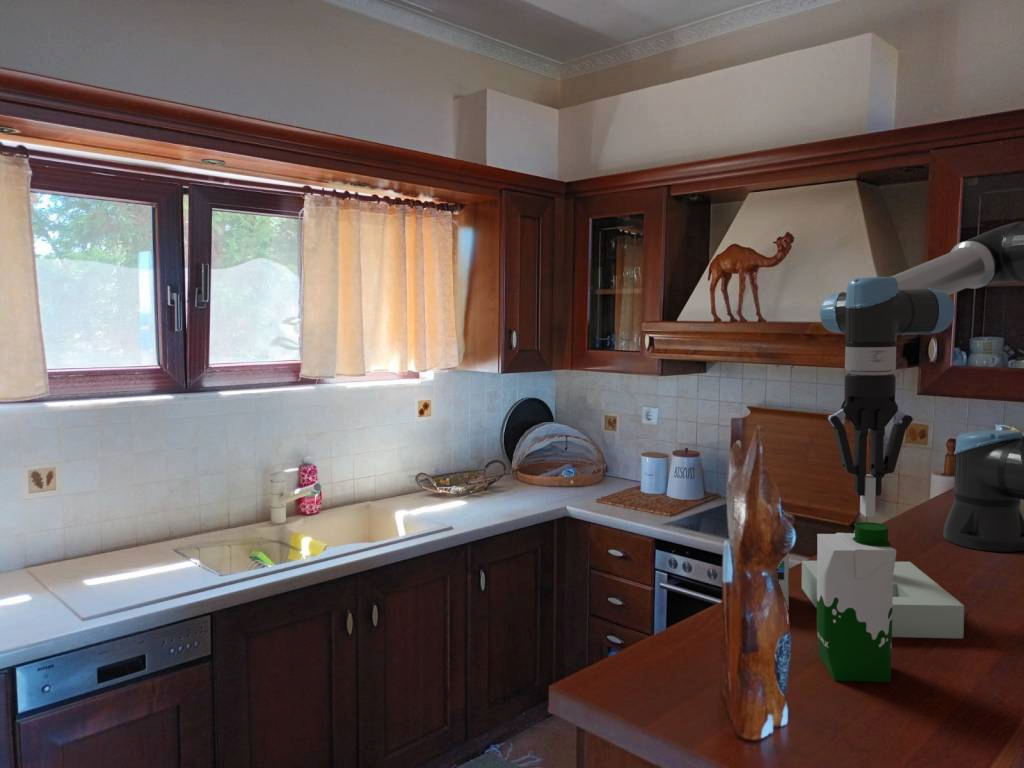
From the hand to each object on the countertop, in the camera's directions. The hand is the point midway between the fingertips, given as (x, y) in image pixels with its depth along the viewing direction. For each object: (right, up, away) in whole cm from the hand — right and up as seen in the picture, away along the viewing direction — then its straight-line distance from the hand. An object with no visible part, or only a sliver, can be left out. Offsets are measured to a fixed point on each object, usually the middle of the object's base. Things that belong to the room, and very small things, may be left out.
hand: (867, 514), depth 125 cm
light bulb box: (-16, -16, +3) cm, 23 cm away
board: (0, -15, -3) cm, 15 cm away
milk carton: (-12, -18, -22) cm, 31 cm away
